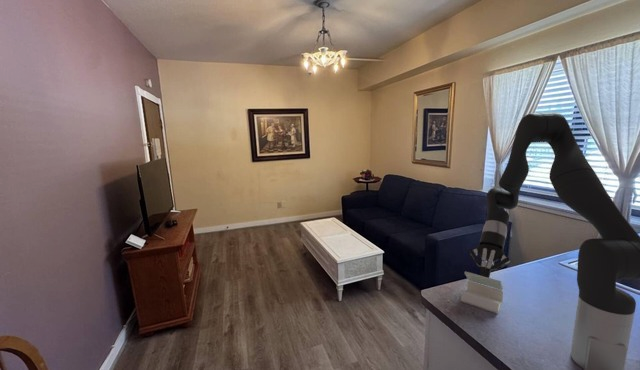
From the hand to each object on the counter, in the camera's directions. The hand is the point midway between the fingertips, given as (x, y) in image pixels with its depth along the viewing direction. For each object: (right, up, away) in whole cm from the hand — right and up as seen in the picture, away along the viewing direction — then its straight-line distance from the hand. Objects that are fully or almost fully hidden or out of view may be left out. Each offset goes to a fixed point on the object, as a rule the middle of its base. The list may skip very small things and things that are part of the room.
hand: (483, 279), depth 92 cm
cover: (0, -1, 0) cm, 1 cm away
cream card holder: (0, -8, +1) cm, 8 cm away
